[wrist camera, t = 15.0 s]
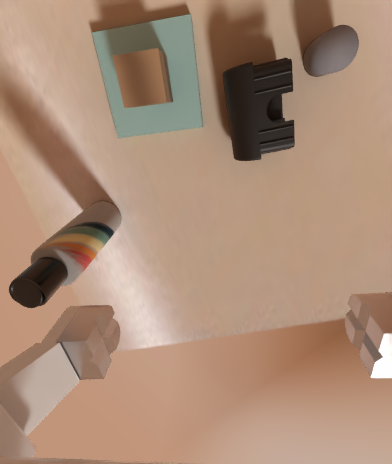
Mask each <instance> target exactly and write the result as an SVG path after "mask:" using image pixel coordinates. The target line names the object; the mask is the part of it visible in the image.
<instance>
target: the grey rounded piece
mask: <svg viewBox="0 0 392 464" xmlns="http://www.w3.org/2000/svg"><path fill="white" fill-rule="evenodd" d="M358 45H359V40H358V36H357V33H356V31H355V30H354V29H353V28H352V27H350V26H347V25H339V26H336V27H334V28H332V29H330V30H329V31H327V32H326V33H324V34H323V35H321V36H320V37H318V38H317V39H315V40H314V41H312V42H311V43H310V44H309V46H308V47H307V49H306V51H305V53H304V56H303V66H304V69H305V71H306V72H307V73H308V74H309V75H311V76H314V77H319V76H323V75H327V74H330V73H334V72H338V71H341V70H343V69H344V68H346V67H347V66H348V65H349V64H350V63H351V62H352V61H353V59H354V57H355V56H356V53H357V50H358Z"/></svg>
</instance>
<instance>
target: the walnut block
mask: <svg viewBox="0 0 392 464" xmlns="http://www.w3.org/2000/svg"><path fill="white" fill-rule="evenodd" d="M113 61H114V65H115V69H116V74H117V78H118V83H119V87H120V91H121V96H122V100H123V105H124V108H133V107H143V106H150V105H156V104H163V103H170V102H173V96H172V89H171V82H170V75H169V69H168V62H167V56H166V55H165V54H164V53H163V52H162V51H161V50H160V49H159V48H155V49H149V50H143V51H137V52H132V53H126V54H120V55H114V56H113Z"/></svg>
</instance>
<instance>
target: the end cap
mask: <svg viewBox="0 0 392 464" xmlns="http://www.w3.org/2000/svg"><path fill="white" fill-rule="evenodd" d="M223 82H224V89H225V96H226V104H227V111H228V118H229V126H230V133H231V140H232V147H233V155H234V158H235V159H236V160H238V161H252V160H259V159H261V154H265V153H270V152H275V151H280V150H286V149H290V148H291V147H294V145H295V139H294V120H290V121H285V118H283V113H282V94H283V93H288V92H292V91H293V77H292V60H291V59H288V58H283V59H279V60H275V61H271V62H267V63H263V64H259V65H255V66H253V63H252V62H250V63H246V64H243V65H239V66H236V67H233V68H231V69H228V70H226V71H225V72H224V73H223Z"/></svg>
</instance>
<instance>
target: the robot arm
mask: <svg viewBox="0 0 392 464" xmlns="http://www.w3.org/2000/svg"><path fill="white" fill-rule="evenodd" d="M348 305H349V306H350V308H351V310H350V311H349V312H348V313H347V314H346V317H345V327H346V332H347V335H348V337H349V339H350V341H351V343H352V344H353V345H354V346H356V347H357V348H358V349H360V350H361V352H360V356H359V357H360V359H361V361H362V362H363V364H364V366H365V368H366V369H367V371H368V373H369V375H370V376H371V378H372V377H374V378H392V292H386V293H369V294H351V296H350V297H349V301H348ZM113 315H114V311H113V308H112V306H109V305H88V306H70V307H68V308H67V309H66V310H65V311H64V313H63V314H62V315H61V317H60V318H59V319H58V321H57V322H56V323H55V325H54V326H53V327H52V329H51V330H50V331H49V333H48V334H47V335H46V337H45V338H44V339H43V341H42V342H41V343H36V344H35V345H33V346H32V347H30V348H29V349H27V350H26V351H24V352H23V353H21V354H20V355H18V356H17V357H15V358H14V359H12V360H11V361H9V362H8V363H6V364H5V365H3V366H2V367H0V464H187V463H161V462H135V461H134V462H133V461H109V460H108V461H107V460H83V459H57V458H33V456H34V454H35V452H36V448H35V445H34V444H33V443H32V441H31V440H30V439H29V438H28V437H27V436H28V434H30V432H31V431H32V430H33V429H34V428H35V427H36V426H37V425H38V424H39V423H40V422H41V421H42V420H43V419H44V418H45V417H46V416H47V415H48V414H49V413H50V412H51V411H52V410H53V409H54V408H55V407H56V406H57V404H58V403H59V402H60V401H61V400H62V399H63V398H64V397H65V396H66V395H67V394H68V393H69V392H70V391H71V390H72V389H73V388H74V387H75V386H76V385H77V384H78V383H79V382H80V380H84V379H104V377H105V375H106V372H107V370H108V368H109V365H110V363H111V358H110V354H111V353H112V352H113V351H115V350H116V348H117V346H118V343H119V338H120V327H119V324H118V322H117V321H116V320H114V319H113V318H112V317H113Z"/></svg>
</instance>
